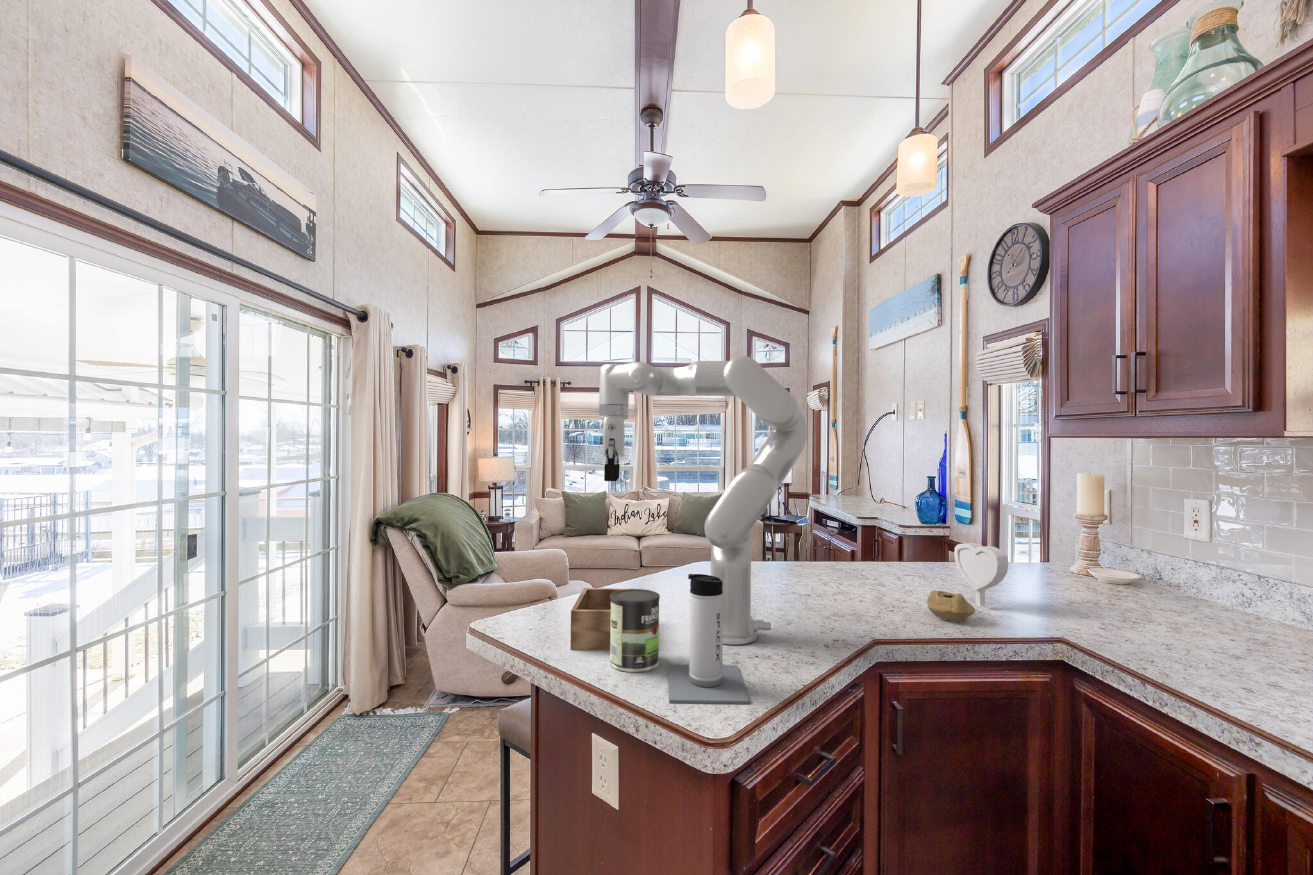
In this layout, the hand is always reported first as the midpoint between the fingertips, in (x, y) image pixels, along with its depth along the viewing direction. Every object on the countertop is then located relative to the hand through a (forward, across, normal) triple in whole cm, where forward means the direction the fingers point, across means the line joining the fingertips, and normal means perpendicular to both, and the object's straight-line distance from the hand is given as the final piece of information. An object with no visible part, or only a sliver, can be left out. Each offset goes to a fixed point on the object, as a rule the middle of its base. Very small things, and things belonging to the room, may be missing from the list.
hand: (611, 479), depth 141 cm
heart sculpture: (+35, +14, -104) cm, 111 cm away
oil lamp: (+36, +6, -90) cm, 97 cm away
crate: (+36, -8, 0) cm, 37 cm away
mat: (+36, -36, -21) cm, 55 cm away
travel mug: (+36, -36, -21) cm, 55 cm away
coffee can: (+36, -25, -7) cm, 45 cm away
